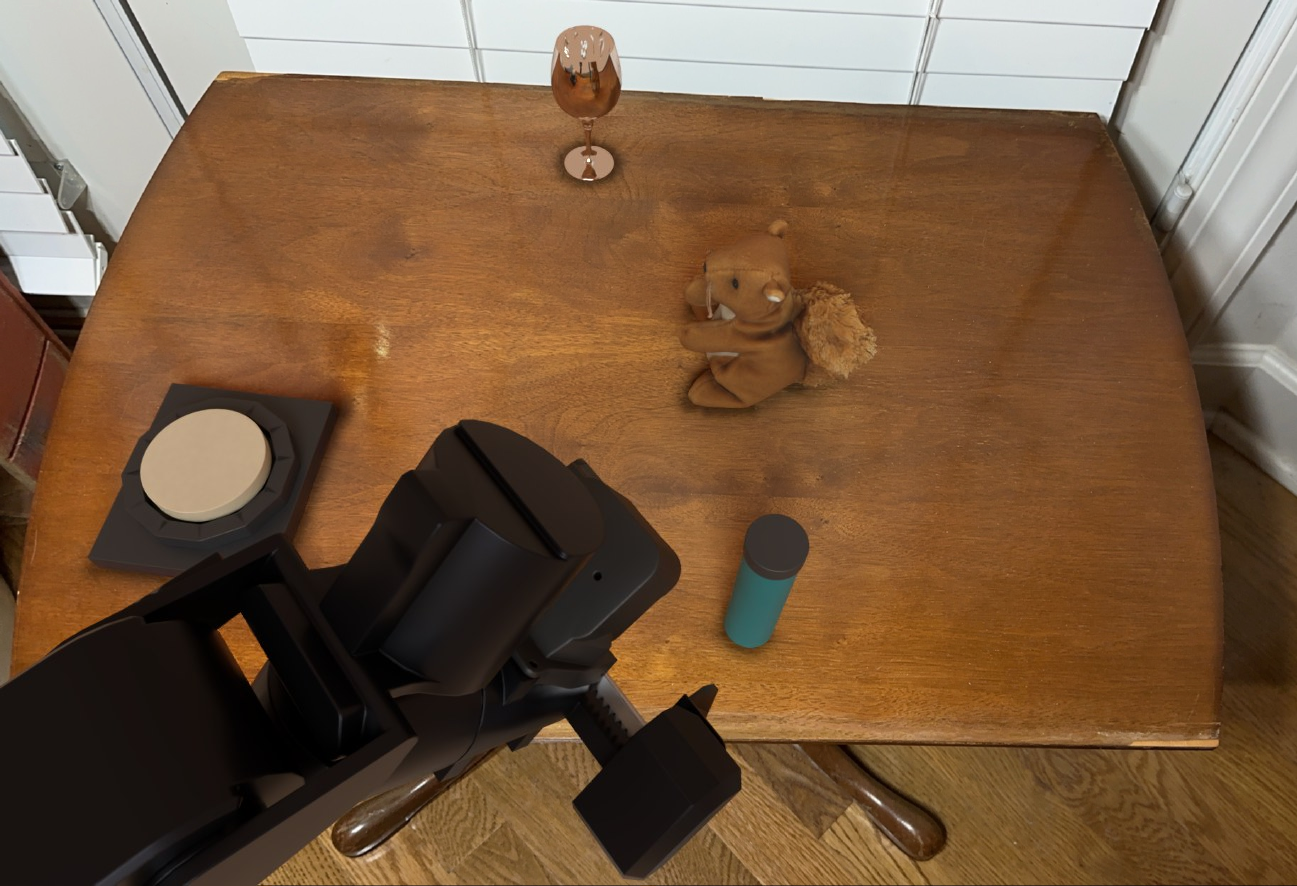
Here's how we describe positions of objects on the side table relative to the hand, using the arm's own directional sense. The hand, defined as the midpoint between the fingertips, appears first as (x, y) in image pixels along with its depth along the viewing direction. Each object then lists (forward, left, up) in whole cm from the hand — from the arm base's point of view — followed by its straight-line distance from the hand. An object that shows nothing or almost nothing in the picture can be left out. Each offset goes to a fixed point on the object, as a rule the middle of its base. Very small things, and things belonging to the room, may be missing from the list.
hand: (651, 620), depth 46 cm
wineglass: (+47, +11, -13) cm, 50 cm away
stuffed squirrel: (+27, -6, -13) cm, 30 cm away
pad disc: (+11, +31, -11) cm, 34 cm away
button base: (+11, +31, -13) cm, 35 cm away
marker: (+5, -6, -13) cm, 16 cm away
